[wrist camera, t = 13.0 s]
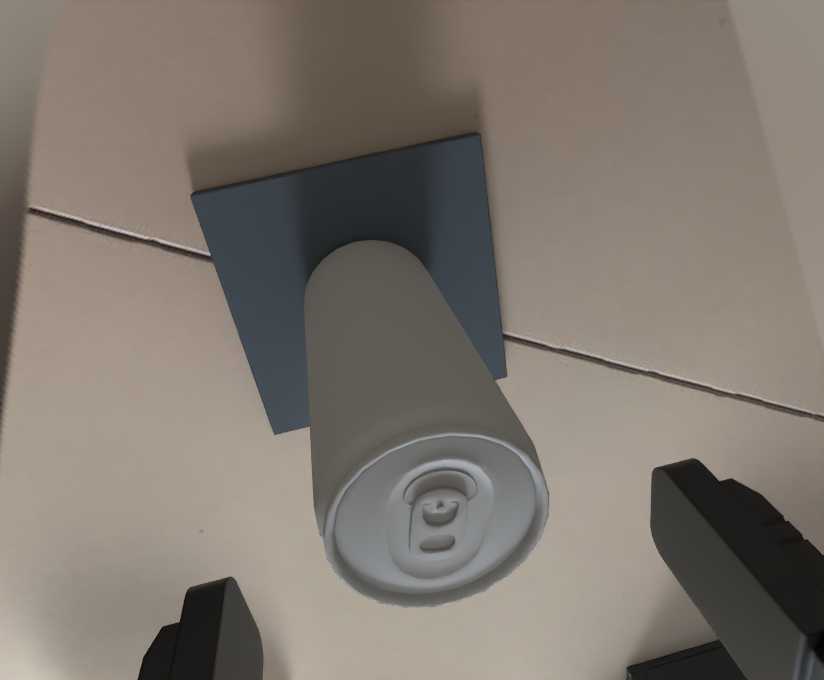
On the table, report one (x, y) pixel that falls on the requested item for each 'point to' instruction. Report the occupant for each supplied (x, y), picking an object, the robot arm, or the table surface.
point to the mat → (341, 225)
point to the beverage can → (411, 437)
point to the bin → (690, 666)
